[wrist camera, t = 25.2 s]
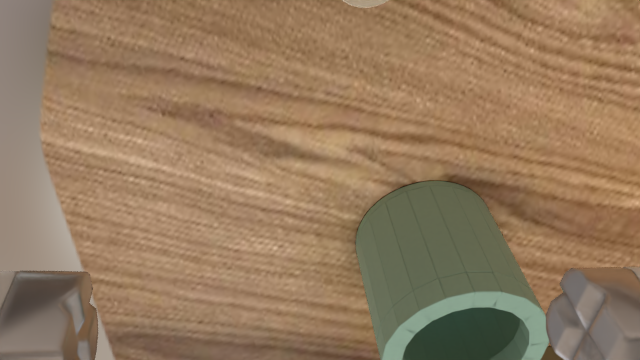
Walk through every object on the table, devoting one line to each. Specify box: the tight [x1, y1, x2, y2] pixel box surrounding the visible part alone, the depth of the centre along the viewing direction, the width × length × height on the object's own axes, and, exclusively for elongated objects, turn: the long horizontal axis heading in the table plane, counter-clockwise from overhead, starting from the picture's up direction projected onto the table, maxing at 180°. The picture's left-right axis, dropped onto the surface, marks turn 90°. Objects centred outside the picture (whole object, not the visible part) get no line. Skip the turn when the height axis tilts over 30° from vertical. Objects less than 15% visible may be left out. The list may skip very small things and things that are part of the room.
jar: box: [356, 181, 549, 360], centre depth 38 cm, size 10×10×10 cm
